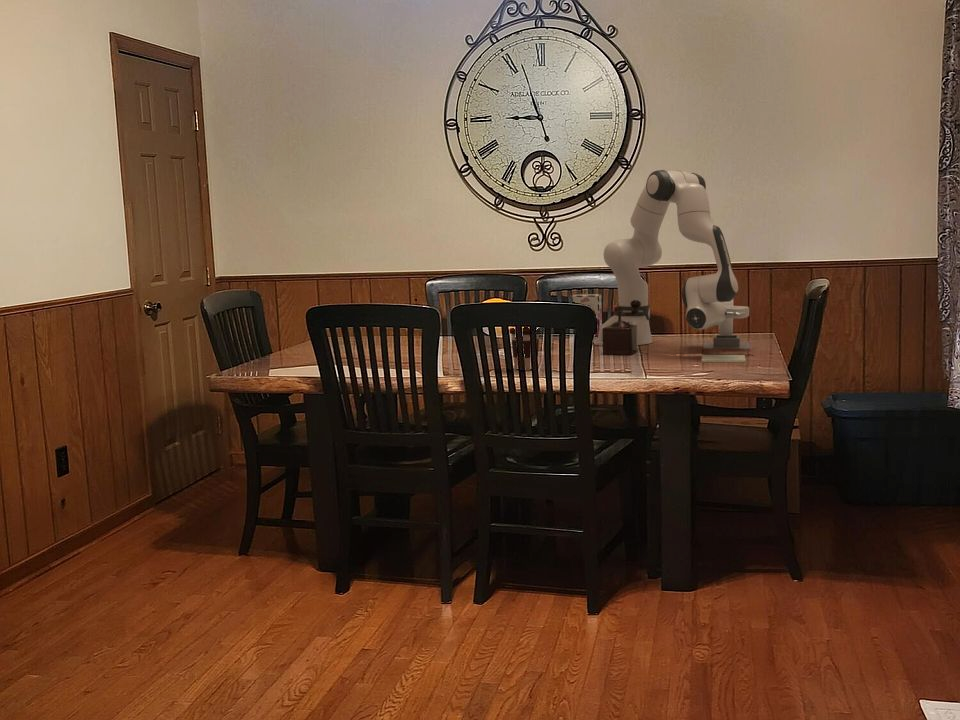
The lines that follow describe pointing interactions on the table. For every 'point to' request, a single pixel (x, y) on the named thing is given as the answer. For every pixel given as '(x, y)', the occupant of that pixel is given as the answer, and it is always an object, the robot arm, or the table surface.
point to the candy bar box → (592, 301)
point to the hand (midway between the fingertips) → (726, 308)
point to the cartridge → (726, 323)
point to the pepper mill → (621, 334)
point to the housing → (727, 342)
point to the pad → (723, 357)
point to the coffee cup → (526, 346)
